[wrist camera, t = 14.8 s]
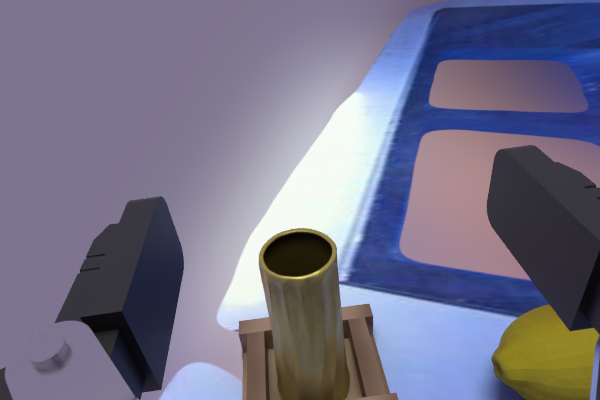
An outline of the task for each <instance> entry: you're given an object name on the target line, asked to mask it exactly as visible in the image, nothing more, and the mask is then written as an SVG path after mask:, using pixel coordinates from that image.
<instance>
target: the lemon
mask: <svg viewBox="0 0 600 400" xmlns="http://www.w3.org/2000/svg"><path fill="white" fill-rule="evenodd" d="M599 336H600V335H599V334H598V332H597V331H596V330H595V329H594V328H589V329H583V330H576V331H569V330H568V328H567V327H566V326H565V324H564V323H563V322H562V320H561V319H560V318H559V316H558V315H557V314H556V312H555V311H554V310H553V308H552V307H551V306H550V304H549V305H545V306H541V307H539V308H536V309H533V310H531V311H529V312H527V313H525V314H523V315H521V316H520V317H519V318H518V319H516V320H515V321H514V322H512V323H511V325H510V326H509V327H508V328H507V329H506V330H505V332H504V333H503V335H502V337H501V341H500V344H499V347H498V348H497V349H496V351H495V352H494V354H493V356H492V362H493V365H494V372H495V375H496V376H497V377H498V378H499V379H500V380H502V382H503V383H505V384H506V385H507V386H509V387H511V388H513V389H514V390H515V391H516V392H517V393H518V394H519V395H520V396H522V397H523V398H524V399H525V400H590V392H591V383H592V373H593V364H594V354H595V346H596V342H597V340H598V338H599Z"/></svg>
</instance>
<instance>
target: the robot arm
mask: <svg viewBox="0 0 600 400" xmlns="http://www.w3.org/2000/svg"><path fill="white" fill-rule="evenodd" d="M487 214H488V218H489V221H490V224H491V226H492V228H493V229H494V230H495V232H496V233H497V234H498V236H499V237H500V238H501V240H502V241H503V242H504V244H505V245H506V247H507V248H508V249H509V250H510V252H511V253H512V255H513V256H514V257H515V259H516V260H517V261H518V263H519V264H520V265H521V266H522V268H523V269H524V271H525V272H526V273H527V275H528V276H529V277H530V279H531V280H532V281H533V283H534V284H535V285H536V287H537V288H538V290H539V291H540V292H541V294H542V295H543V296H544V298H545V299H546V300H547V302H548V303H549V304H550V306H551V307H552V308H553V310H554V311H555V312H556V314H557V315H558V316H559V318H560V319H561V320H562V322H563V323H564V324H565V326H566V327H567V328H568V330H569V331H576V330H583V329H589V328H594V329H595V330H596V331H597V332H598V334H599V335H600V188H596V185H595V184H594V183H593V182H591V180H589V179H588V178H587V177H586V176H584V175H583V174H582V173H581V172H579V171H577V170H574V169H572V168H570V167H568V166H565V165H563V164H561V163H558V162H556V163H555V162H554V161H552V160H551V159H550V158H549V157H548V156H547V155H545V154H544V153H543V152H542V151H541V150H540V149H538V148H537V147H536V146H533V145H528V146H521V147H515V148H507V149H501V150H499V151H498V152H497V153H496V155H495V158H494V163H493V169H492V175H491V181H490V187H489V194H488V200H487ZM86 258H87V259H86V260H84V262H83V264H82V266H81V269H80V274H78V275H77V277H76V279H75V281H74V283H73V285H72V288H71V290H70V292H69V294H68V296H67V298H66V300H65V302H64V304H63V306H62V309H61V311H60V313H59V315H58V317H57V319H56V321H55V323H54V324H52V325H50V326H47V327H45V328H43V329H41V330H39V331H37V332H36V333H34V334H33V335H32V336H30V337H29V338H27V339H26V340H25V341H24V342H23V343H22V344H21V345H20V346H19V347H18V348H17V349H16V350H15V351H14V353H13V354H12V356H11V357H10V359H9V361H8V363H7V366H6V367H5V368H3V369H1V370H0V400H140V399H141V395H142V392H149V391H155V390H161V388H162V382H163V377H164V372H165V366H166V361H167V355H168V350H169V345H170V339H171V334H172V329H173V324H174V318H175V313H176V308H177V302H178V297H179V292H180V286H181V281H182V276H183V270H184V260H183V252H182V247H181V244H180V241H179V238H178V235H177V233H176V230H175V226H174V224H173V221H172V218H171V215H170V212H169V209H168V206H167V203H166V201H165V200H164V198H163V197H161V196H160V197H153V198H146V199H139V200H131V201H129V202H128V203H127V205H126V208H125V210H124V212H123V215H122V217H121V220H120V222H119V223H118V224H111V225H109V226H108V227H107V228H106V229H105V230H104V231H103V232H102V233H101V234H100V235H98V236H97V237H96V238H95V239H94V241H93V243H92V245H91V247H90V249H89V251H88V254H87V256H86ZM590 400H600V336H599V338H598V340H597V342H596V346H595V354H594V364H593V373H592V383H591V392H590Z"/></svg>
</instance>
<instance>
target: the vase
mask: <svg viewBox="0 0 600 400" xmlns="http://www.w3.org/2000/svg"><path fill="white" fill-rule="evenodd" d="M259 268H260V273H261V278H262V283H263V288H264V293H265V298H266V303H267V308H268V313H269V318H270V323H271V330H272V336H273V344H274V354H275V363H276V370H277V378H278V382H277V387H278V391H279V393H280V396H281V397H282V399H283V400H343V399H344V398H345V396H346V394H347V393H348V390H349V386H350V373H349V370H348V366H347V360H346V349H345V342H344V334H343V323H342V311H341V301H340V291H339V277H338V267H337V248H336V245H335V243H334V242H333V241H332V239H331V238H329V237H328V236H327V235H325V234H324V233H321V232H319V231H316V230H312V229H306V228H298V229H291V230H287V231H284V232H281V233H278V234H277V235H275V236H273V237H272V238H271V239H269V240H268V241H267V242H266V243H265V245H264V246H263V247H262V249H261V251H260V254H259Z"/></svg>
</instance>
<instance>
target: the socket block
mask: <svg viewBox="0 0 600 400" xmlns="http://www.w3.org/2000/svg"><path fill="white" fill-rule="evenodd" d="M341 311H342V323H343V334H344V342H345V349H346V360H347V366H348V370H349V373H350V386H349V390H348V393H347V394H346V396H345V398H344V399H343V400H398V397H397V394H396V393H391V394H390V392H389V388H388V385H387V381H386V378H385V375H384V371H383V368H382V364H381V361H380V357H379V354H378V350H377V347H376V343H375V340H374V337H373V315H372V311H371V308H370V305H369V304H363V305H356V306H348V307H341ZM239 337H240V341H241V345H242V349H243V398H242V400H283V399H282V397H281V396H280V393H279V391H278V387H277V382H278V378H277V370H276V363H275V354H274V344H273V336H272V330H271V323H270V318H269V317H267V318H260V319H253V320H245V321H239Z"/></svg>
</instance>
